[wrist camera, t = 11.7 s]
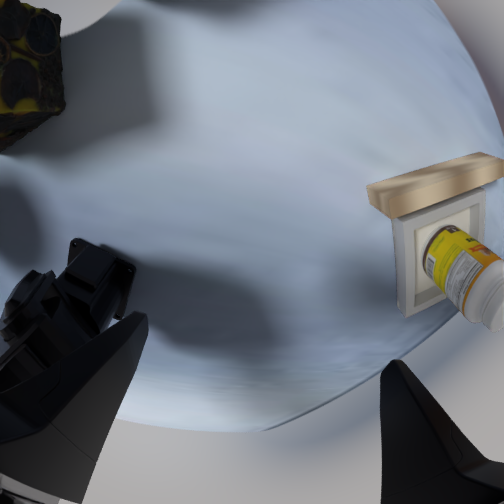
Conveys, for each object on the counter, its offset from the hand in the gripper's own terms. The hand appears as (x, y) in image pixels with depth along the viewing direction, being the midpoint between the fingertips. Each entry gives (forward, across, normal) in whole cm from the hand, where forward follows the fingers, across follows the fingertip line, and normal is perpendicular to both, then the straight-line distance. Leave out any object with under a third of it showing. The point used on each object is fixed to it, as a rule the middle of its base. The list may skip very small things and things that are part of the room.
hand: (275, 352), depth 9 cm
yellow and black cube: (+10, +24, -9) cm, 27 cm away
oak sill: (+15, -12, -6) cm, 20 cm away
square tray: (+15, -16, 0) cm, 22 cm away
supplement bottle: (+14, -16, 0) cm, 22 cm away
